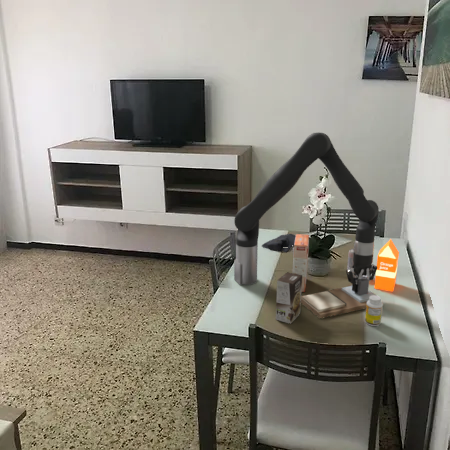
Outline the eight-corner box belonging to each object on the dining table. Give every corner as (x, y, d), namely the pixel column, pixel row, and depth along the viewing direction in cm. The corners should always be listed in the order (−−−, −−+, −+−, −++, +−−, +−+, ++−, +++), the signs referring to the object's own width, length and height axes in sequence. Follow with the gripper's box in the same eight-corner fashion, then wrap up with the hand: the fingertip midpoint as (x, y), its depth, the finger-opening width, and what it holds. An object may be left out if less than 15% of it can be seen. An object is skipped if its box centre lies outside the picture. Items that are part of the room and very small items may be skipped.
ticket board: (320, 318, 175) (320, 312, 175) (297, 300, 189) (298, 294, 189) (368, 307, 183) (368, 301, 183) (343, 290, 197) (343, 284, 197)
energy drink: (359, 273, 213) (361, 249, 210) (358, 278, 209) (360, 253, 205) (347, 272, 215) (349, 247, 211) (346, 277, 210) (348, 252, 206)
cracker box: (305, 292, 196) (308, 245, 189) (291, 291, 197) (293, 244, 190) (307, 278, 209) (309, 234, 202) (293, 277, 210) (295, 233, 203)
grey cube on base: (360, 302, 184) (361, 286, 181) (341, 290, 194) (342, 274, 192) (378, 298, 187) (379, 282, 185) (359, 286, 197) (360, 270, 195)
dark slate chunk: (304, 241, 255) (305, 233, 253) (285, 254, 238) (285, 245, 236) (279, 236, 263) (279, 228, 262) (259, 248, 246) (259, 239, 245)
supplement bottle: (368, 317, 176) (371, 292, 173) (383, 322, 173) (385, 297, 170) (362, 323, 172) (364, 298, 169) (376, 328, 169) (379, 302, 165)
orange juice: (395, 283, 204) (400, 239, 198) (393, 291, 196) (398, 246, 190) (376, 280, 207) (381, 237, 201) (373, 288, 199) (378, 243, 193)
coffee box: (291, 324, 172) (292, 284, 167) (275, 319, 175) (276, 280, 170) (301, 313, 179) (303, 274, 174) (285, 309, 182) (287, 271, 177)
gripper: (372, 245, 190) (368, 284, 196) (342, 250, 185) (339, 290, 191) (384, 251, 184) (380, 291, 189) (354, 257, 179) (350, 298, 184)
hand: (359, 290), depth 190 cm, fingers closed on grey cube on base, 4 cm apart
